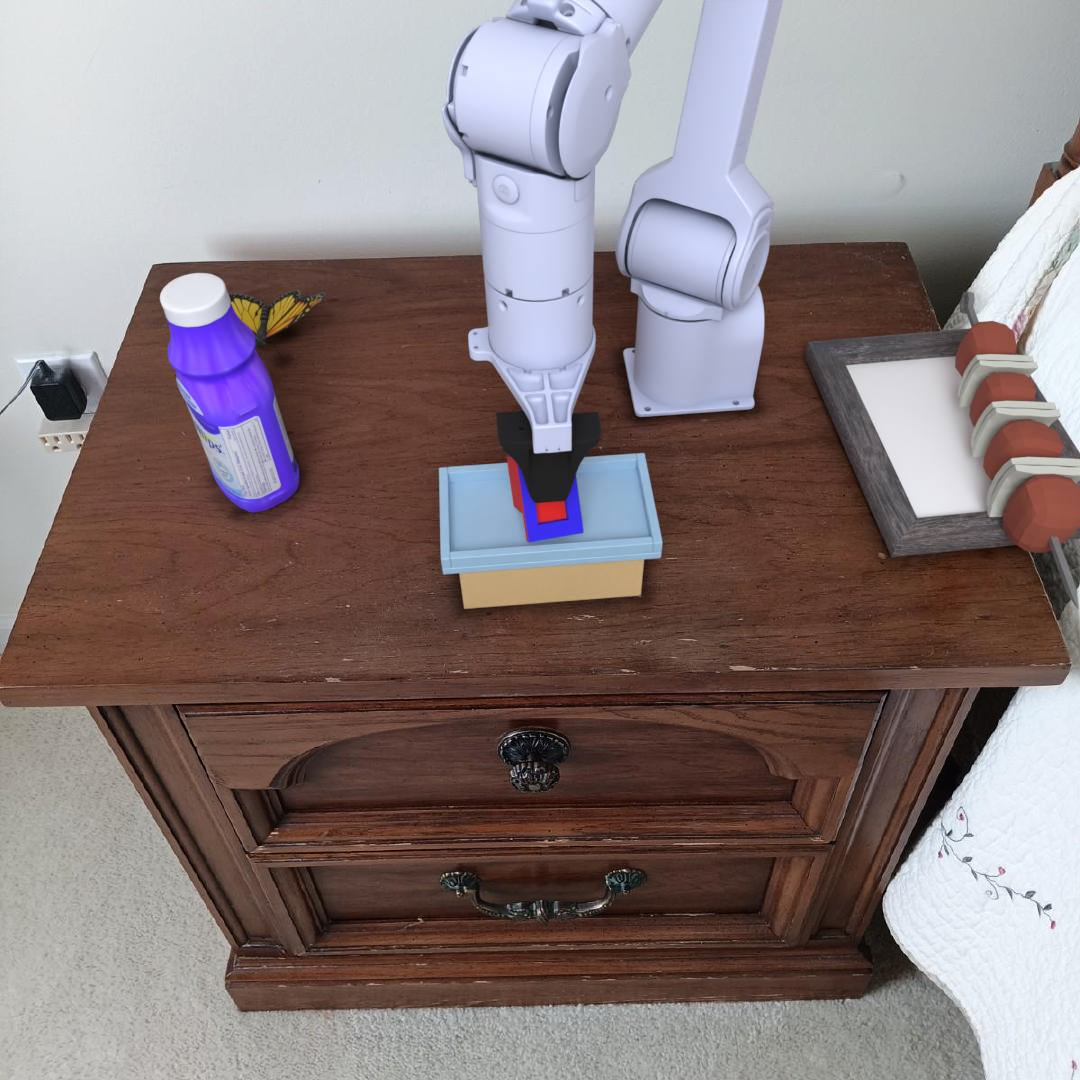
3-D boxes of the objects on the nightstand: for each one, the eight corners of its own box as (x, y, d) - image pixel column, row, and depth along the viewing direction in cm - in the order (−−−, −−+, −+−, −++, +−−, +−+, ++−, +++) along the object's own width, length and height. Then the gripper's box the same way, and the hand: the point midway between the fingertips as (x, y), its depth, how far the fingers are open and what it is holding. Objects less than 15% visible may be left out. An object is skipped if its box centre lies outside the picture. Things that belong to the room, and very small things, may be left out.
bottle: (203, 473, 76) (125, 281, 63) (270, 440, 78) (208, 248, 65) (247, 530, 73) (174, 339, 59) (316, 494, 75) (260, 301, 61)
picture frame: (999, 325, 82) (1123, 520, 69) (990, 345, 84) (1110, 539, 70) (808, 341, 81) (897, 543, 68) (803, 360, 82) (889, 561, 69)
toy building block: (569, 523, 67) (553, 404, 66) (584, 533, 63) (567, 406, 62) (517, 532, 67) (499, 412, 65) (528, 543, 63) (510, 415, 61)
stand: (639, 510, 73) (644, 452, 68) (656, 599, 68) (663, 542, 63) (447, 525, 72) (438, 467, 68) (449, 615, 67) (440, 559, 63)
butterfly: (188, 386, 83) (169, 337, 79) (204, 319, 88) (187, 271, 84) (333, 377, 83) (321, 329, 79) (339, 311, 89) (329, 263, 85)
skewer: (982, 321, 82) (1097, 633, 63) (925, 319, 82) (1023, 630, 63) (1006, 269, 78) (1137, 585, 59) (946, 267, 78) (1058, 583, 59)
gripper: (457, 196, 57) (475, 379, 67) (466, 365, 47) (485, 546, 58) (581, 188, 57) (580, 371, 67) (614, 354, 48) (607, 537, 58)
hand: (544, 452), depth 63 cm, fingers open, 7 cm apart
